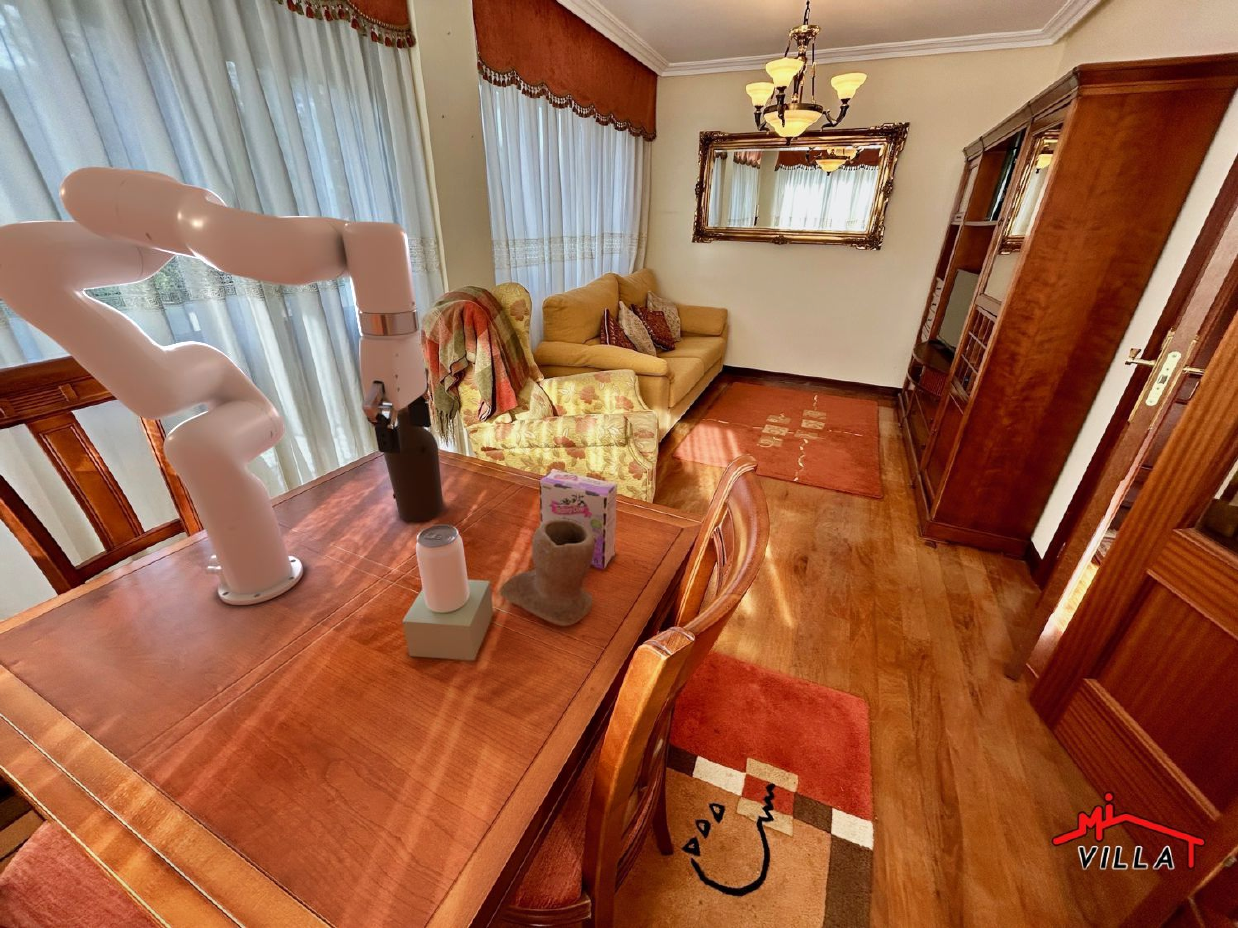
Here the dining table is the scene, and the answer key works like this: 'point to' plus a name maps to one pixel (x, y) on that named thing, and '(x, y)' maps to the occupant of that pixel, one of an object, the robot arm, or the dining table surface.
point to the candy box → (582, 508)
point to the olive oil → (415, 472)
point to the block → (450, 626)
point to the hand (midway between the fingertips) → (406, 438)
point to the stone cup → (555, 574)
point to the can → (442, 568)
